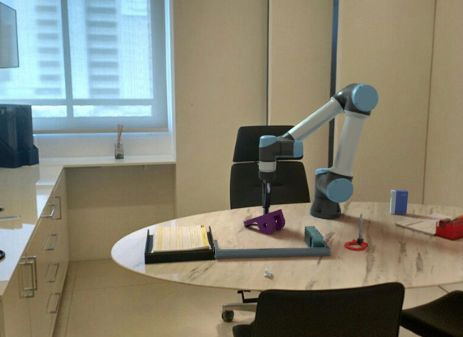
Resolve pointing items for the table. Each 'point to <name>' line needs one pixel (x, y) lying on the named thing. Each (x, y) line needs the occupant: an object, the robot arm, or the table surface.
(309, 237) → the rail
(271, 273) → the power adapter
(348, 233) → the table surface
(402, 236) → the table surface
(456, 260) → the table surface
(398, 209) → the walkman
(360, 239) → the red ring with rod
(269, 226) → the mounting bracket
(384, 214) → the table surface
